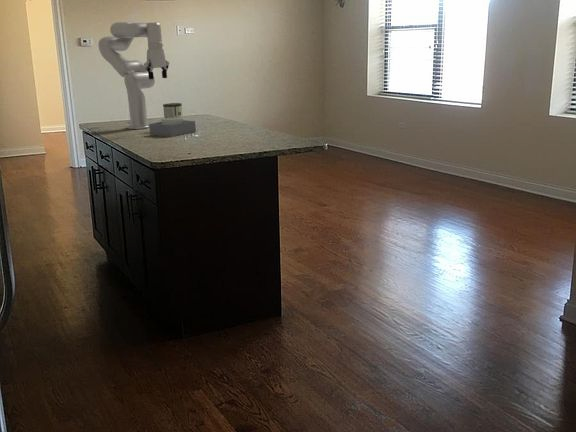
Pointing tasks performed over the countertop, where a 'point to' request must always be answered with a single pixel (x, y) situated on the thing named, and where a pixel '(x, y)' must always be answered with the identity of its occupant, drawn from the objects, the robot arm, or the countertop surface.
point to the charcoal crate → (172, 128)
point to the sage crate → (171, 121)
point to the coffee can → (172, 110)
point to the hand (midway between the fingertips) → (158, 78)
